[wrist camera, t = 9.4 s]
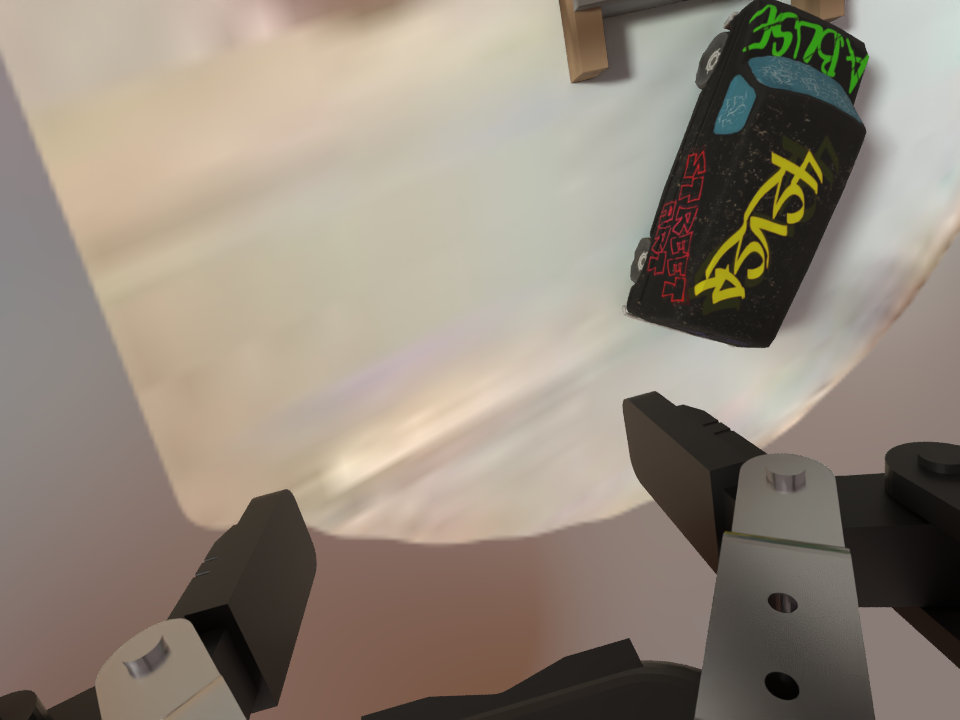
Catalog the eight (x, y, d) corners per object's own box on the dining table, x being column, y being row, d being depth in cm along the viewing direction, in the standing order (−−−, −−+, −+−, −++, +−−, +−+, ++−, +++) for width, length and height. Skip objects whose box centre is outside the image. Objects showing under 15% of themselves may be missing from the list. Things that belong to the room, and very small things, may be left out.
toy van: (820, 63, 42) (939, 17, 32) (708, 338, 48) (781, 368, 38) (712, 17, 40) (804, -46, 30) (609, 310, 46) (659, 334, 36)
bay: (558, -3, 38) (574, -27, 34) (813, -57, 39) (856, -86, 35) (570, 83, 40) (587, 68, 36) (814, 29, 41) (855, 9, 37)
